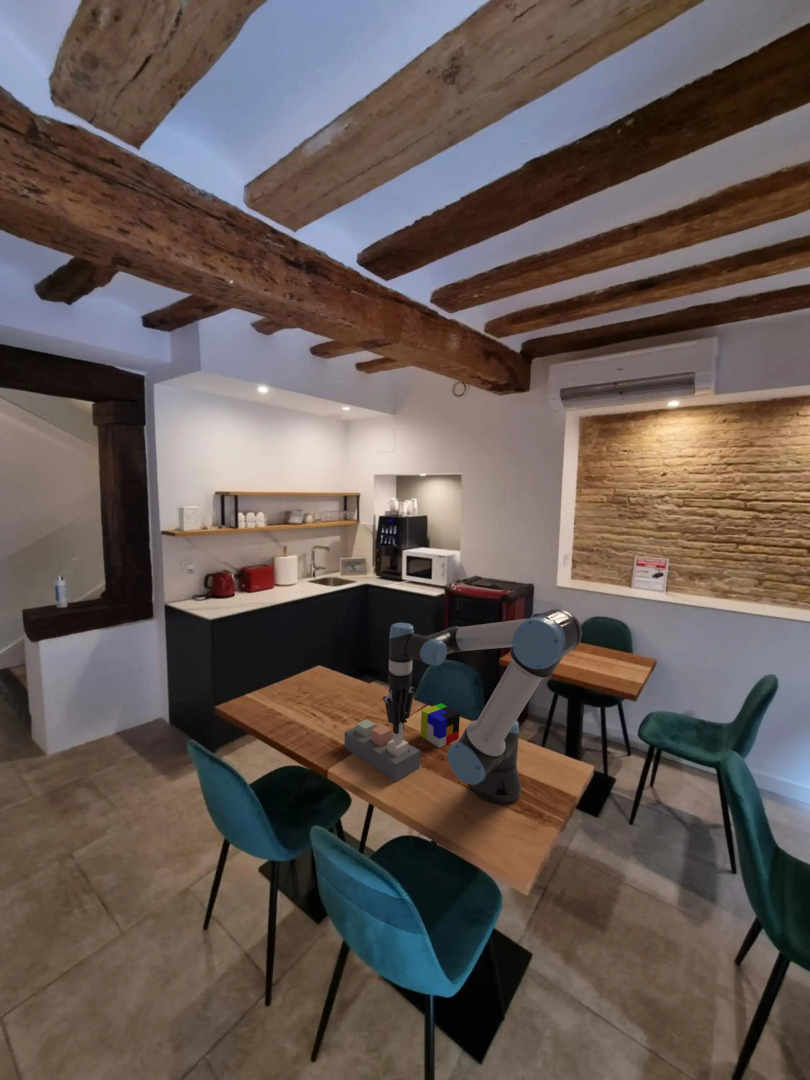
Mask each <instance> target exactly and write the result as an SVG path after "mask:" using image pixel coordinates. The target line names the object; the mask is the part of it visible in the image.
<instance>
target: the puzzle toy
mask: <svg viewBox="0 0 810 1080" xmlns="http://www.w3.org/2000/svg"><path fill="white" fill-rule="evenodd" d="M460 716H461V714H460V712H458V711H456V710H454V709H452V708H451V707H449V706H447V705H445V704H444V703H442V702H441V703H439V704H436V705H433V706H430V707H426V708H424V709H421V717H420V719H421V720H420V737H422V738H423V739H425V740H426V741H428V742H430V743H431V744H433V745H434V746H435V747H437V748H442V747H444V746H447V745H448V744H451V743H454V742H456V741H458V740H459V739H460V738H459V736H460V734H459V733H460V720H461V719H460Z"/></svg>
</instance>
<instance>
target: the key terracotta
mask: <svg viewBox="0 0 810 1080" xmlns="http://www.w3.org/2000/svg"><path fill="white" fill-rule="evenodd" d="M392 733H393V729H390V728H389V727H387V726H386V725H383V724H380V725H378V727H376V728H373V729H372V731H371V742H372V743H374V744H375V745H377V746H379V747H380V748H381V747H383V746H385V745H387V744H388V742H389V741H391V734H392Z"/></svg>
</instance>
